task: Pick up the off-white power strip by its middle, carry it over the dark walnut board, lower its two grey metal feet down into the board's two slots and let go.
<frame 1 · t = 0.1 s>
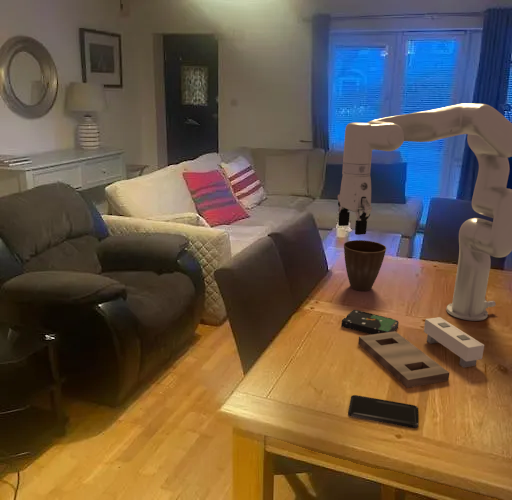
hand: (351, 229, 146), 31 cm above the table, tool pointing down, fingers open, 9 cm apart
disk drive: (369, 328, 158), on the table
power strip: (450, 352, 143), on the table
phone: (383, 414, 115), on the table
plant pot: (361, 288, 189), on the table
slot board: (400, 360, 138), on the table
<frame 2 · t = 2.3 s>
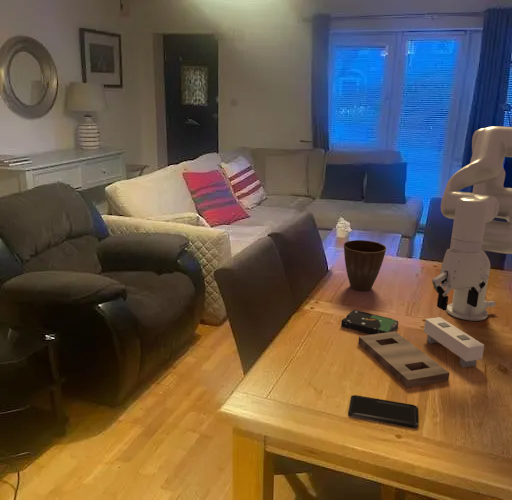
hand: (456, 306, 138), 14 cm above the table, tool pointing down, fingers open, 9 cm apart
nothing on the table moved.
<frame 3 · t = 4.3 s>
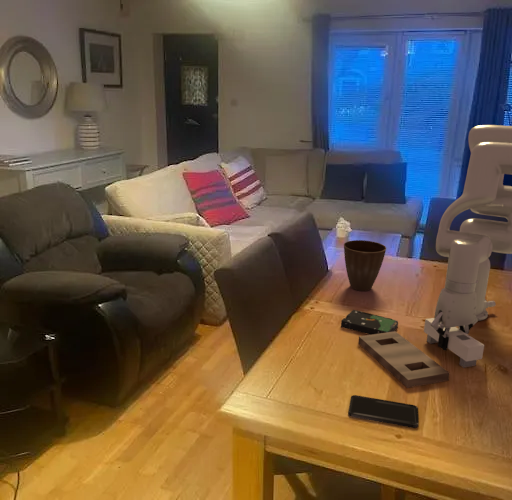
hand: (451, 346, 142), 2 cm above the table, tool pointing down, fingers closed on power strip, 5 cm apart
power strip: (450, 352, 143), on the table, touching gripper
everything else where it was.
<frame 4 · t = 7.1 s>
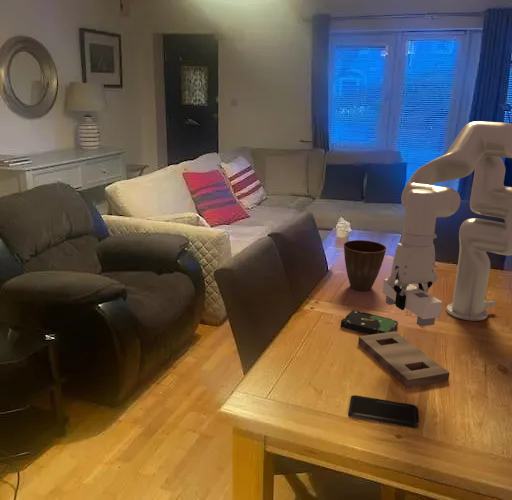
hand: (409, 306, 133), 16 cm above the table, tool pointing down, fingers closed on power strip, 5 cm apart
power strip: (408, 313, 134), point 14 cm above the table, touching gripper
everything else where it was.
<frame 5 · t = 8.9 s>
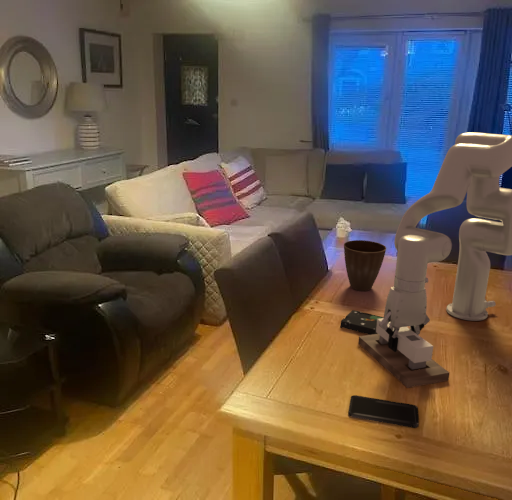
hand: (401, 347, 136), 4 cm above the table, tool pointing down, fingers closed on power strip, 5 cm apart
power strip: (401, 353, 137), point 2 cm above the table, touching gripper
everything else where it was.
when the fingers open (3 cm above the table, at t = 10.2 s): power strip stays where it is, resting in slot board.
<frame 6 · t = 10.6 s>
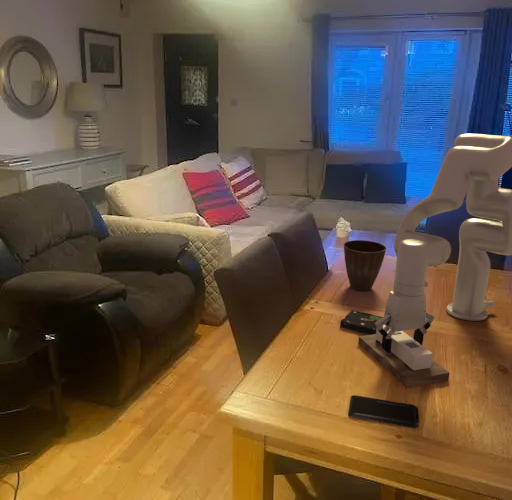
hand: (401, 348, 137), 4 cm above the table, tool pointing down, fingers open, 9 cm apart
power strip: (400, 360, 138), resting in slot board
everything else where it was.
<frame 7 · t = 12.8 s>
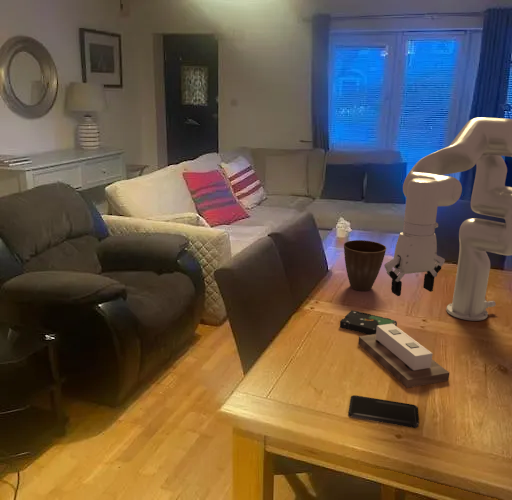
hand: (412, 291, 134), 19 cm above the table, tool pointing down, fingers open, 9 cm apart
nothing on the table moved.
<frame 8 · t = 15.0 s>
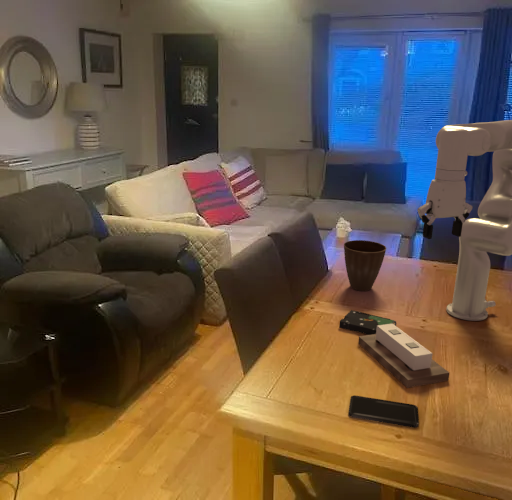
hand: (441, 236, 144), 30 cm above the table, tool pointing down, fingers open, 9 cm apart
nothing on the table moved.
at the end: power strip 0.1 cm off-centre on the slot board, point 0.0 cm above the slot board's base; the gripper is holding nothing; power strip tilted 0° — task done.
